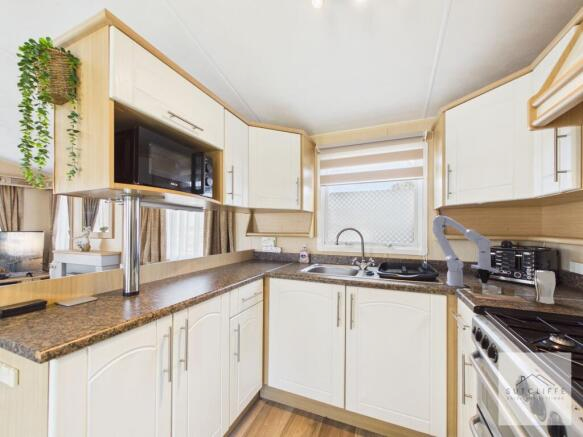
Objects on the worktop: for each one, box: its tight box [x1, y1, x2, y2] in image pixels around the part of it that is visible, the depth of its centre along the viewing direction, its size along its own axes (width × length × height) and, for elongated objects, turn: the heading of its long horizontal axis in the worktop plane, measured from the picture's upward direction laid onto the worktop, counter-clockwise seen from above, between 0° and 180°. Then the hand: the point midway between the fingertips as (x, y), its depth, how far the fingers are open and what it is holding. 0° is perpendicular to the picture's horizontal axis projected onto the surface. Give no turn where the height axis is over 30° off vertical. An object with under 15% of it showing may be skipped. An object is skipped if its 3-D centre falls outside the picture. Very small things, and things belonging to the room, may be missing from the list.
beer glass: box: [533, 269, 556, 305], centre depth 115 cm, size 7×7×15 cm
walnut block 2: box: [500, 285, 516, 296], centre depth 126 cm, size 4×4×4 cm
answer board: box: [462, 287, 530, 303], centre depth 127 cm, size 20×22×1 cm
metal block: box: [484, 284, 499, 295], centre depth 128 cm, size 4×4×4 cm
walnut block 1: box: [469, 283, 483, 294], centre depth 130 cm, size 4×4×4 cm
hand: (484, 283), depth 136 cm, fingers closed
